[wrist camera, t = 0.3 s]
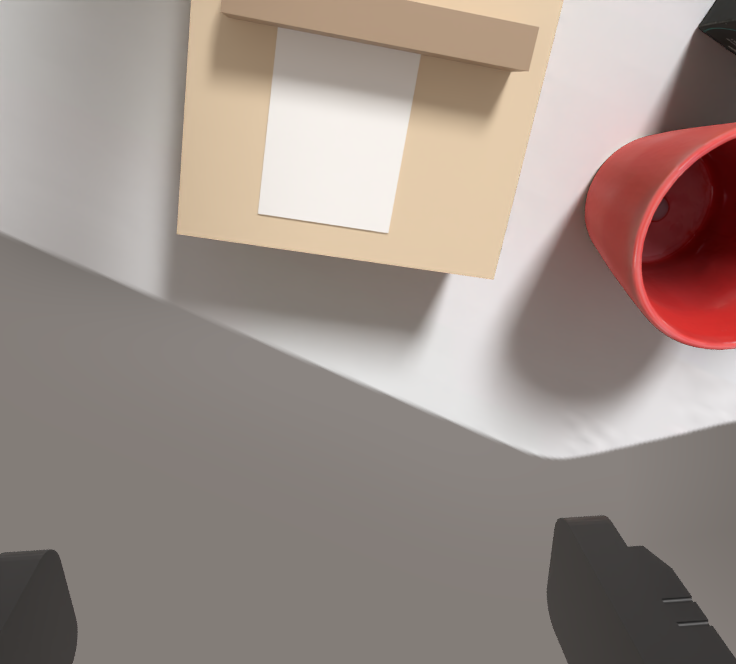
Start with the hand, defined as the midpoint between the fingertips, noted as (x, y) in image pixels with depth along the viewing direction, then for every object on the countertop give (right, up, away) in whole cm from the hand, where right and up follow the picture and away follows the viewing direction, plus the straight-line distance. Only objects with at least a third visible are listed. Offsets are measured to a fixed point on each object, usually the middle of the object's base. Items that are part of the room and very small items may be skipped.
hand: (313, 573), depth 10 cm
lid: (+1, +17, +17) cm, 24 cm away
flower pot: (+17, +12, +27) cm, 34 cm away
